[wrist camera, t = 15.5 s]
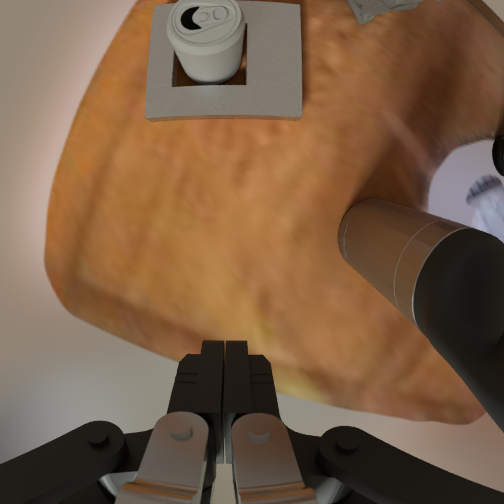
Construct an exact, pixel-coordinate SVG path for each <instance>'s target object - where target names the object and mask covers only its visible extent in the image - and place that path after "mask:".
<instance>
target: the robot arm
mask: <svg viewBox="0 0 504 504" xmlns="http://www.w3.org/2000/svg"><path fill="white" fill-rule="evenodd" d="M338 244H339V249H340V252H341V254H342V256H343V258H344V259H345V260H346V262H347V263H348V264H349V265H350V266H351V267H353V268H354V269H355V270H356V271H357V272H358V273H359V274H360V275H361V276H362V277H363V278H365V279H366V280H367V281H368V282H369V283H370V284H371V285H372V286H373V287H374V288H375V289H377V290H378V291H379V292H380V293H381V294H382V295H383V296H384V297H385V298H386V299H387V300H388V301H389V302H390V303H392V304H393V305H394V306H395V307H396V308H397V309H398V310H399V311H400V312H401V313H402V314H403V315H404V316H405V317H406V318H408V319H409V320H410V321H411V322H412V323H413V324H414V325H415V326H416V327H417V328H418V329H419V330H420V331H421V332H422V333H423V334H424V335H425V336H426V337H427V338H428V339H429V341H430V343H431V344H432V345H433V347H434V348H435V349H436V350H437V352H438V353H439V354H440V355H441V356H442V357H443V358H444V359H445V360H446V361H447V362H448V363H449V364H450V365H451V367H452V368H453V369H454V370H455V371H456V373H457V374H458V375H459V376H460V377H461V379H462V380H463V381H464V382H465V384H466V385H467V386H468V387H469V389H470V390H471V391H472V393H473V394H474V395H475V397H476V398H477V399H478V401H479V402H480V403H481V405H482V406H483V407H484V409H485V410H486V411H487V413H488V414H489V415H490V416H491V418H492V419H493V420H494V421H495V423H496V424H497V425H498V426H499V428H500V429H501V430H502V431H503V432H504V243H503V242H502V241H500V240H499V239H498V238H497V237H495V236H493V235H491V234H489V233H486V232H483V231H480V230H477V229H475V228H472V227H469V226H466V225H463V224H460V223H457V222H454V221H451V220H448V219H444V218H441V217H438V216H435V215H432V214H429V213H426V212H422V211H419V210H416V209H413V208H409V207H406V206H402V205H399V204H396V203H392V202H389V201H385V200H382V199H375V198H371V199H365V200H363V201H360V202H358V203H357V204H355V205H354V206H353V207H351V209H350V210H349V211H348V212H347V213H346V214H345V216H344V218H343V219H342V222H341V224H340V227H339V233H338ZM224 436H225V453H226V463H227V464H232V473H233V489H234V497H235V504H504V493H503V492H500V491H497V490H494V489H492V488H489V487H486V486H483V485H481V484H478V483H475V482H473V481H470V480H467V479H465V478H462V477H460V476H457V475H455V474H453V473H450V472H448V471H446V470H443V469H441V468H438V467H436V466H434V465H432V464H430V463H427V462H425V461H423V460H421V459H418V458H417V457H414V456H412V455H410V454H408V453H406V452H404V451H402V450H400V449H398V448H396V447H394V446H391V445H390V444H388V443H386V442H384V441H382V440H380V439H378V438H376V437H374V436H372V435H370V434H368V433H367V432H365V431H363V430H361V429H359V428H356V427H351V426H339V427H334V428H332V429H329V430H328V431H326V432H325V433H324V434H323V435H322V437H319V436H312V435H305V434H301V433H298V432H295V431H293V430H291V429H289V428H288V427H287V426H286V425H285V424H284V423H283V422H282V420H281V418H280V414H279V408H278V403H277V397H276V391H275V386H274V380H273V376H272V369H271V363H270V362H269V361H268V360H267V359H266V358H265V357H264V356H263V355H248V346H247V341H226V351H225V348H224V341H217V340H203V342H202V349H201V354H187V355H186V356H185V357H184V358H183V359H182V360H181V361H180V362H179V365H178V369H177V375H176V377H175V383H174V386H173V389H172V393H171V398H170V402H169V406H168V410H167V414H166V415H165V416H163V417H161V418H160V419H159V420H158V421H157V423H156V424H155V427H154V428H153V429H150V430H147V431H143V432H137V433H128V434H123V432H122V430H121V429H120V428H119V427H118V426H116V425H115V424H113V423H111V422H107V421H93V422H89V423H86V424H84V425H82V426H80V427H78V428H76V429H74V430H72V431H70V432H68V433H66V434H64V435H63V436H60V437H58V438H56V439H54V440H52V441H50V442H48V443H46V444H44V445H42V446H40V447H38V448H36V449H33V450H31V451H29V452H27V453H25V454H23V455H20V456H18V457H16V458H14V459H11V460H9V461H7V462H5V463H2V464H0V504H212V501H213V493H214V486H215V478H216V464H221V463H222V464H223V463H224Z"/></svg>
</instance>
